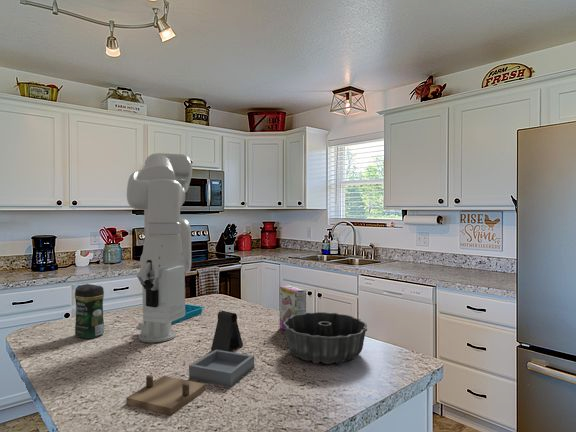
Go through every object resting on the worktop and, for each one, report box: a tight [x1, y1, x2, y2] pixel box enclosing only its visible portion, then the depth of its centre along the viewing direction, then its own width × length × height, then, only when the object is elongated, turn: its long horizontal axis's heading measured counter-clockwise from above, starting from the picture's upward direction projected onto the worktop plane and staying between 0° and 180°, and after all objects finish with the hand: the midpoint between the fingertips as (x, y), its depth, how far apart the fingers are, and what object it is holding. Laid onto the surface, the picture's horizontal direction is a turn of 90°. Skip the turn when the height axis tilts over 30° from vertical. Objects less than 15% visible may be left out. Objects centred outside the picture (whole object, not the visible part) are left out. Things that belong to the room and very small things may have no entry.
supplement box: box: [142, 266, 186, 323], centre depth 94 cm, size 7×7×13 cm
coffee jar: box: [74, 283, 105, 340], centre depth 140 cm, size 10×8×19 cm
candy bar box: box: [278, 285, 307, 331], centre depth 145 cm, size 11×5×16 cm, turn 35°
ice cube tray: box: [171, 303, 205, 325], centre depth 165 cm, size 12×20×3 cm, turn 153°
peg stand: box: [125, 374, 206, 416], centre depth 94 cm, size 13×13×4 cm
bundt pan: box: [283, 311, 368, 365], centre depth 122 cm, size 26×26×10 cm
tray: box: [188, 350, 255, 388], centre depth 107 cm, size 13×13×4 cm
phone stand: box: [210, 310, 244, 352], centre depth 127 cm, size 9×6×12 cm, turn 145°
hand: (164, 302), depth 94 cm, fingers closed on supplement box, 7 cm apart
